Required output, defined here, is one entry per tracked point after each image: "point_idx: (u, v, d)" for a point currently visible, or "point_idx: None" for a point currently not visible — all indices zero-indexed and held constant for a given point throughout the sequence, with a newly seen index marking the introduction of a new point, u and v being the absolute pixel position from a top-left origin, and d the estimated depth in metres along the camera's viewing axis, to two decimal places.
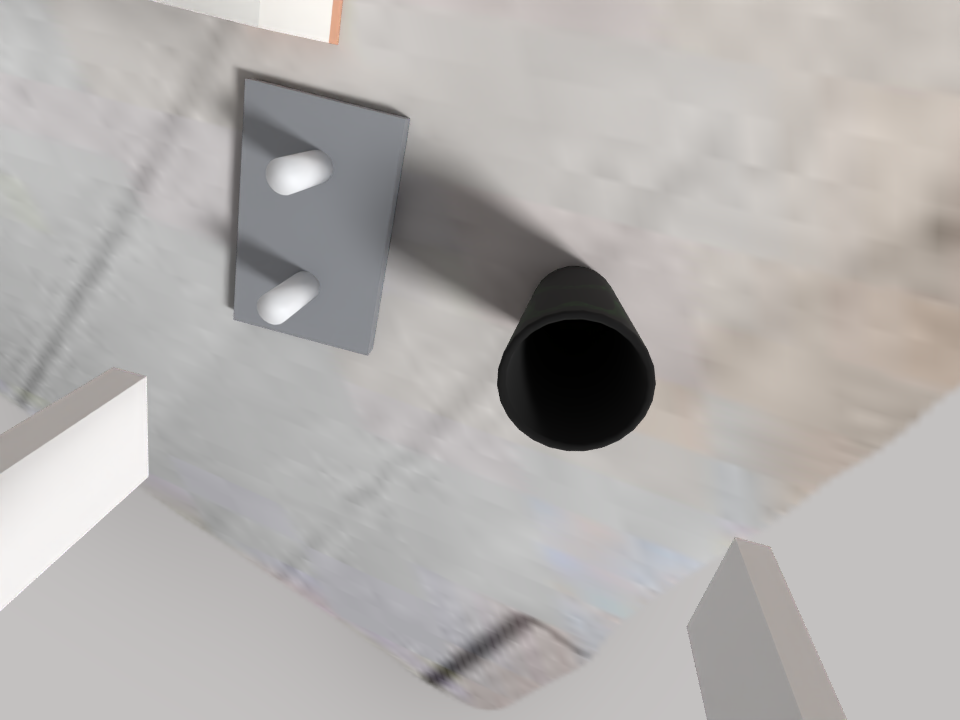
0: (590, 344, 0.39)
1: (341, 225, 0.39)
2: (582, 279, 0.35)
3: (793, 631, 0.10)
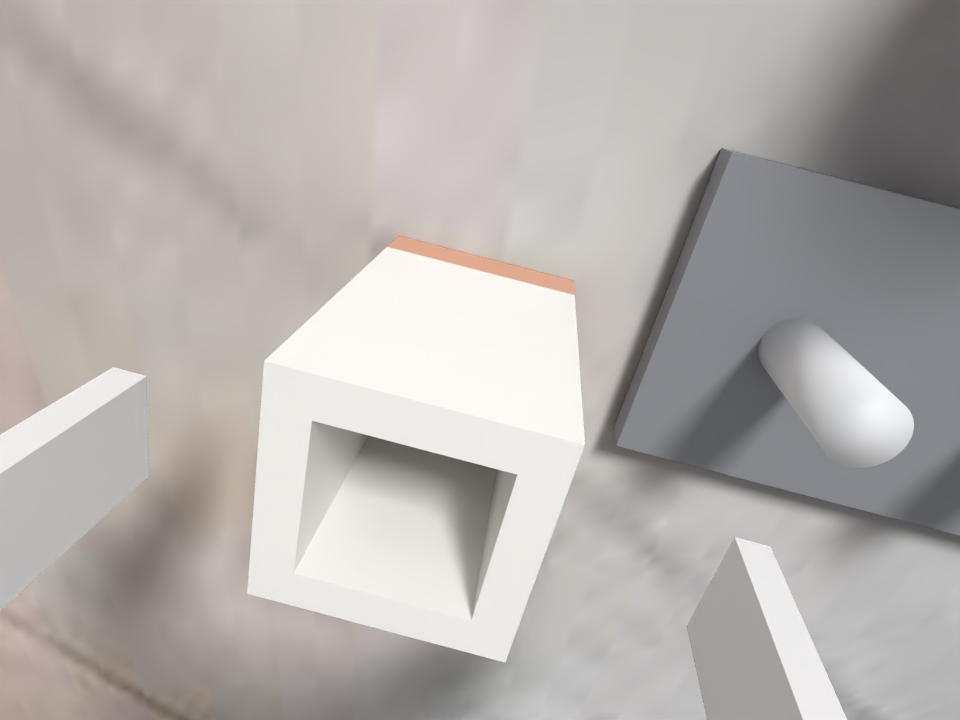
0: None
1: (929, 317, 0.18)
2: None
3: (793, 631, 0.10)
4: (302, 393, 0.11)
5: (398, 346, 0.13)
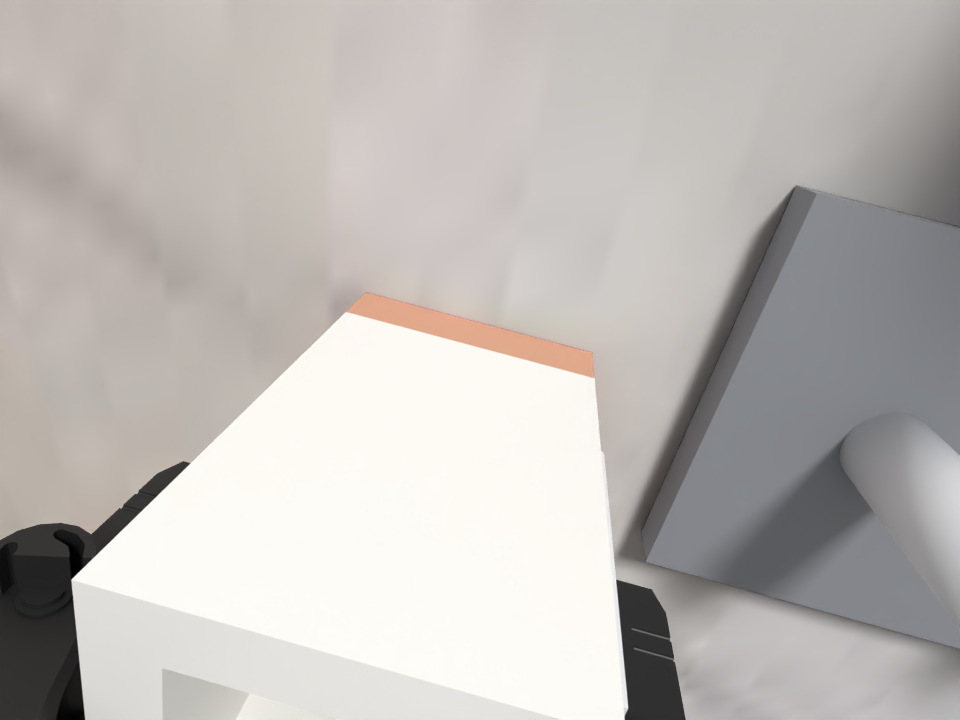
0: None
1: None
2: None
3: None
4: (141, 630, 0.06)
5: (324, 512, 0.08)
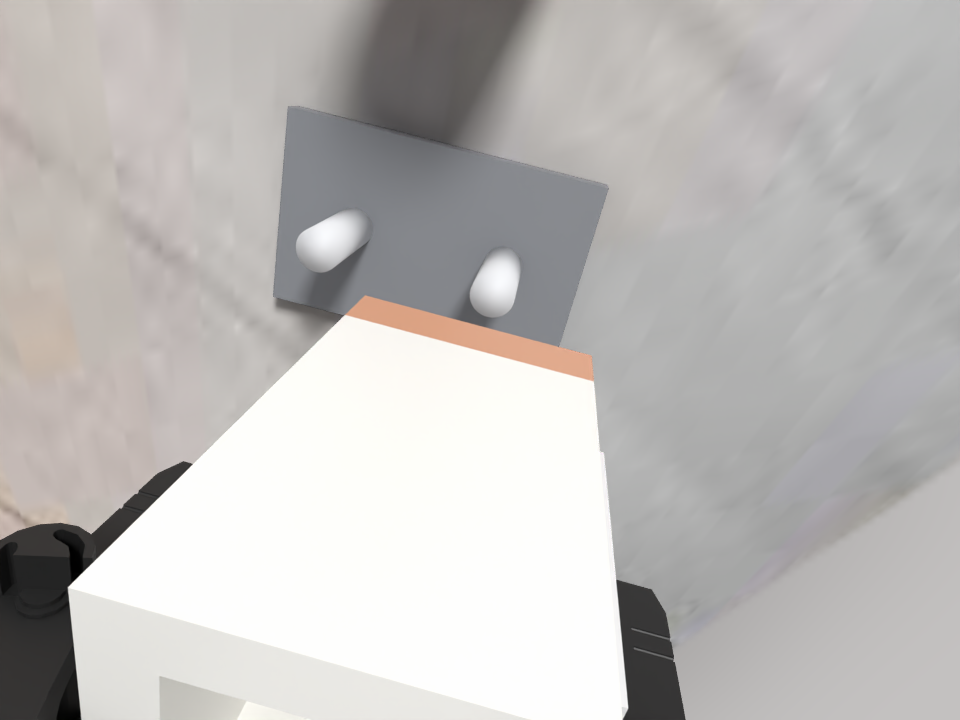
0: None
1: (421, 205, 0.30)
2: None
3: None
4: (137, 637, 0.06)
5: (323, 518, 0.08)
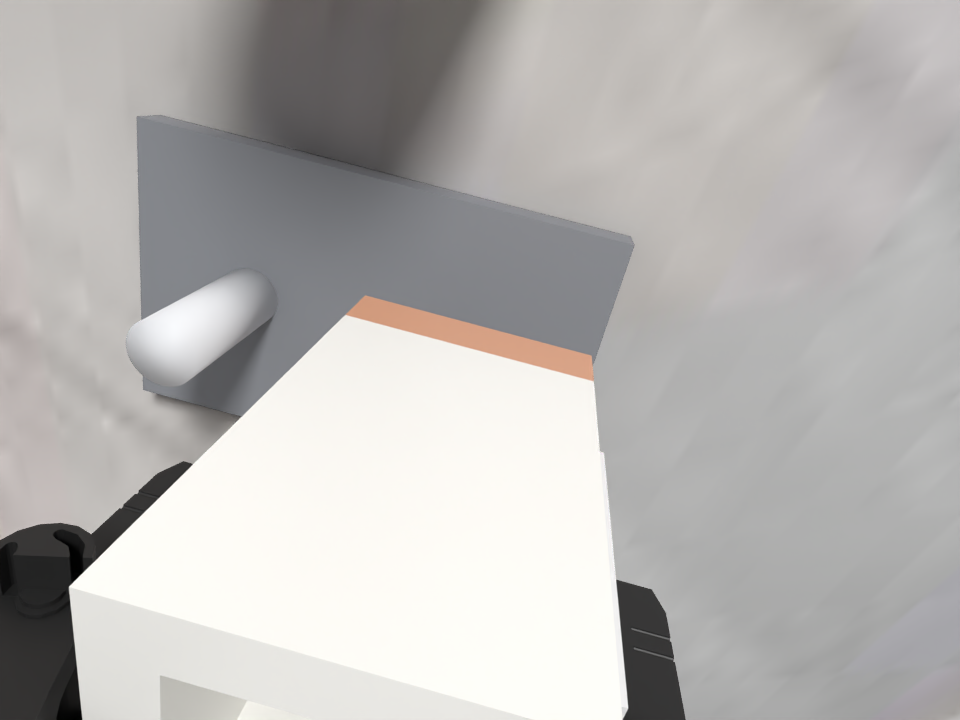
0: None
1: (348, 266, 0.20)
2: None
3: None
4: (138, 637, 0.06)
5: (323, 518, 0.08)
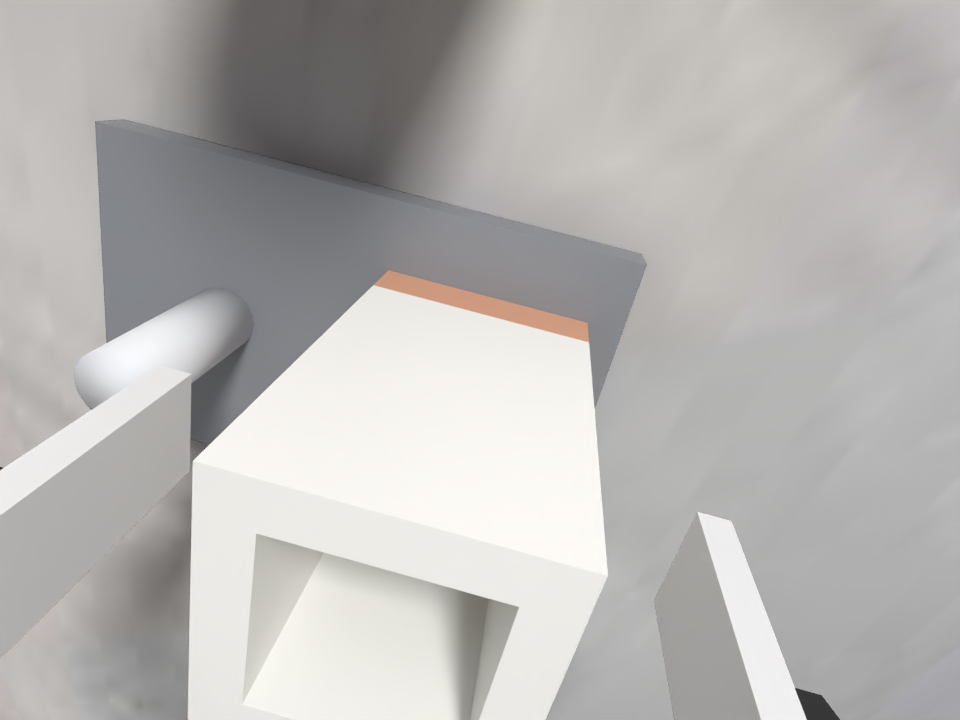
0: None
1: (329, 286, 0.18)
2: None
3: (746, 597, 0.11)
4: (242, 501, 0.09)
5: (372, 428, 0.10)
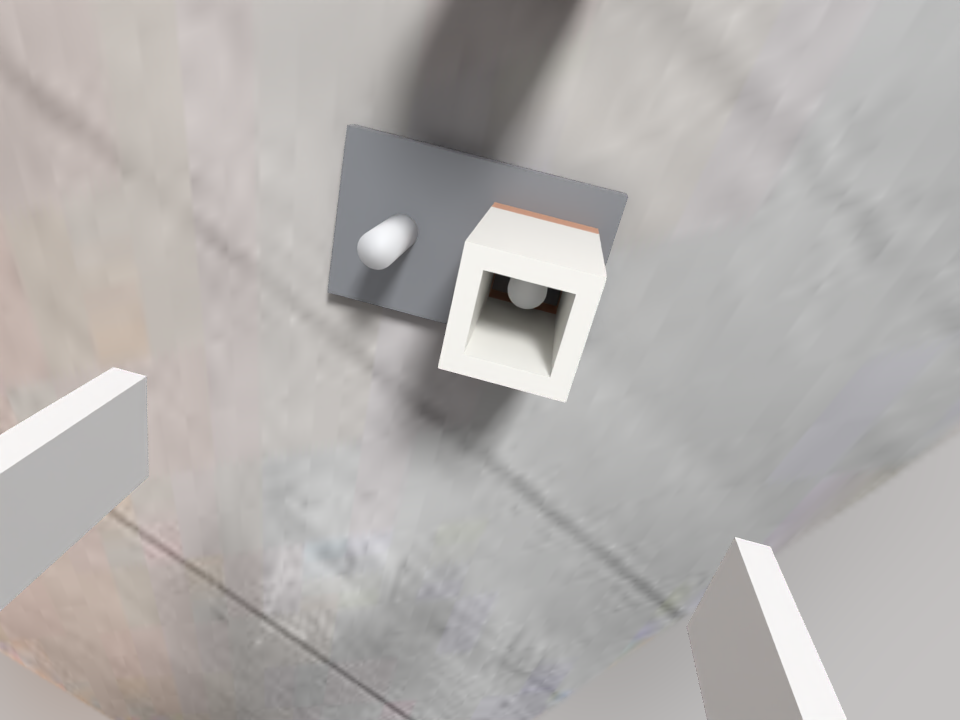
0: None
1: (462, 211, 0.34)
2: None
3: (793, 631, 0.10)
4: (480, 256, 0.25)
5: (516, 242, 0.26)
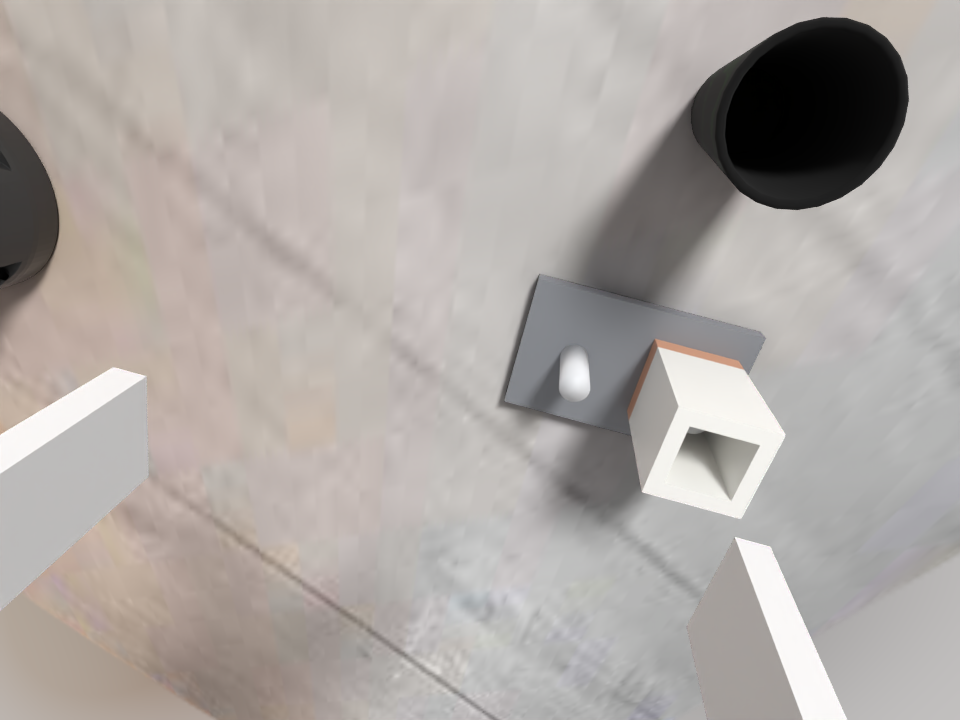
0: (787, 89, 0.34)
1: (627, 344, 0.42)
2: (699, 107, 0.33)
3: (793, 631, 0.10)
4: (689, 417, 0.33)
5: (707, 399, 0.34)
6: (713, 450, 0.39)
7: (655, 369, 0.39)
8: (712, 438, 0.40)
